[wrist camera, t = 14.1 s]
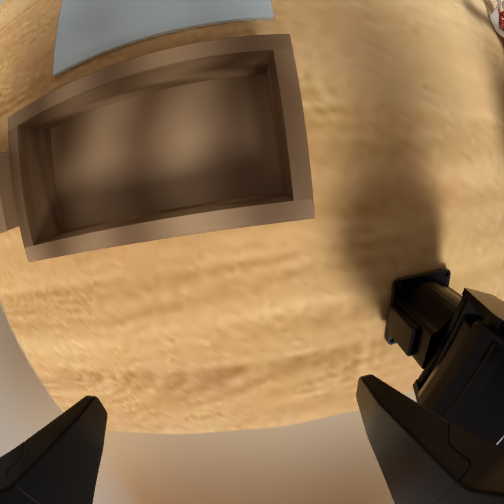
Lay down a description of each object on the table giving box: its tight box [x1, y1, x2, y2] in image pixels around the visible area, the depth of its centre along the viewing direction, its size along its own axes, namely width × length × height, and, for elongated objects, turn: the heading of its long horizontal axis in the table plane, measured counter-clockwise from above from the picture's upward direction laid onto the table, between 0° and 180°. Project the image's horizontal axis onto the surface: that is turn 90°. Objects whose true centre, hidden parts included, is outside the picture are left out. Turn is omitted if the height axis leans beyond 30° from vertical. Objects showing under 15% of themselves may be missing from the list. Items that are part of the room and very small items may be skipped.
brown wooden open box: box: [0, 34, 315, 262], centre depth 12 cm, size 24×10×10 cm, turn 97°
